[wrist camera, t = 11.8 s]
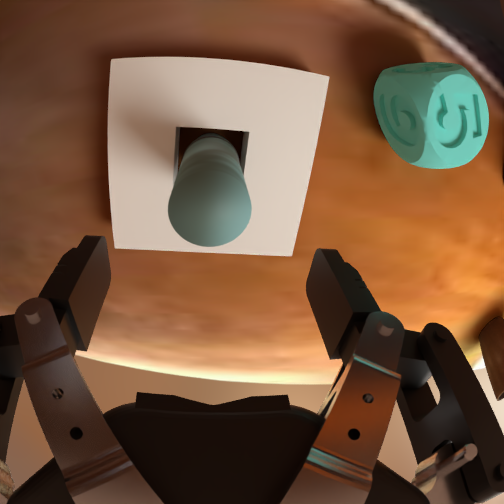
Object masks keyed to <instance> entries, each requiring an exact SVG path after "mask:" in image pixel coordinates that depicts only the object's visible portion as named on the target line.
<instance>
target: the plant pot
mask: <svg viewBox="0 0 504 504" xmlns="http://www.w3.org/2000/svg"><path fill="white" fill-rule="evenodd" d="M479 341H480V346H481V351H482V355H483V359H484V362H485V366H486V369H487V373H488V376H489V379H490V382H491V385H492V388H493V391H494V394H495V396H496V399H497V401H499V400H501V399H503V398H504V319H503V318H501V317H497V318H495V319H493V320H492V321H491V322H490V323H489V324H487V325H486V327H485V328H484V329H483V330H482V332H481V333H480V335H479Z"/></svg>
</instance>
